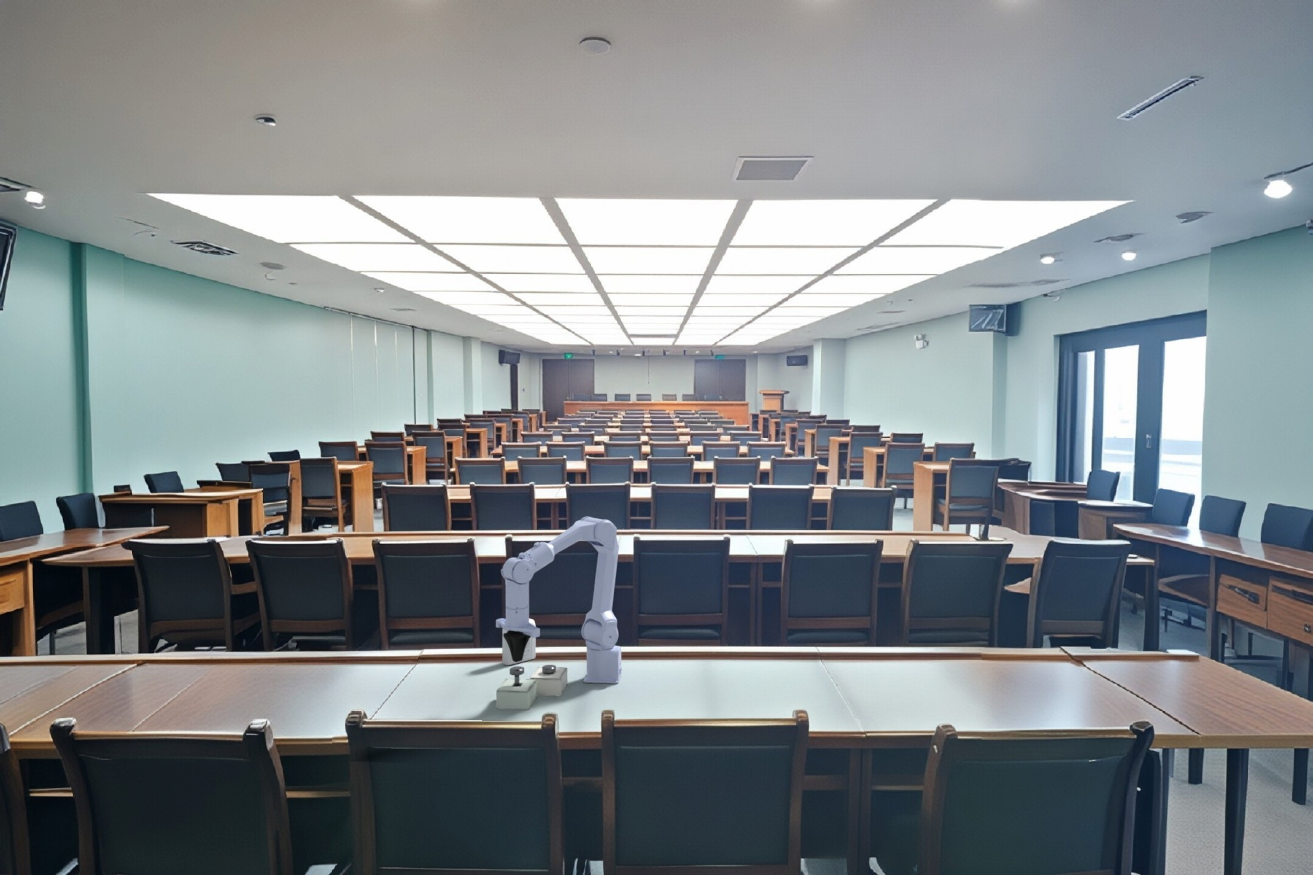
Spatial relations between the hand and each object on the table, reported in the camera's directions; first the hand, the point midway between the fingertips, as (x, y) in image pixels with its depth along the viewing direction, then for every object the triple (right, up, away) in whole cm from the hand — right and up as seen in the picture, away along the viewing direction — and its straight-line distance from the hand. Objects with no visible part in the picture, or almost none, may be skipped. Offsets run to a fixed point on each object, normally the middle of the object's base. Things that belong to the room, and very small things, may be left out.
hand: (517, 660), depth 172 cm
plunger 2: (+7, -10, +8) cm, 14 cm away
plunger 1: (0, -7, 0) cm, 7 cm away
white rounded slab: (-6, -10, +30) cm, 33 cm away
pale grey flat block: (0, -11, 0) cm, 11 cm away
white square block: (+7, -10, +8) cm, 15 cm away
